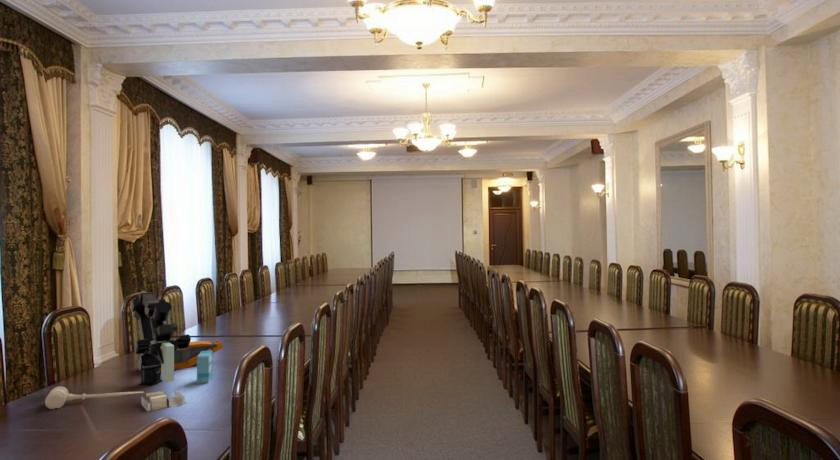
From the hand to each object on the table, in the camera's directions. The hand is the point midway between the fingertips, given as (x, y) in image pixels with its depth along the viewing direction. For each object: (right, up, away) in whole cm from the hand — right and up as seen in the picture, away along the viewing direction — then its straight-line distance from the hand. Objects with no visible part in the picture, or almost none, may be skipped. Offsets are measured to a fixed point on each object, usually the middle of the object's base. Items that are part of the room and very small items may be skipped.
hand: (167, 362), depth 194 cm
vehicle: (-16, -14, +50) cm, 55 cm away
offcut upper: (+1, -11, -10) cm, 15 cm away
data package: (+5, -14, +23) cm, 27 cm away
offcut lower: (+1, -12, -10) cm, 16 cm away
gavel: (-24, -14, -1) cm, 28 cm away
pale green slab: (0, -6, 0) cm, 6 cm away
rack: (+3, -13, -9) cm, 16 cm away
